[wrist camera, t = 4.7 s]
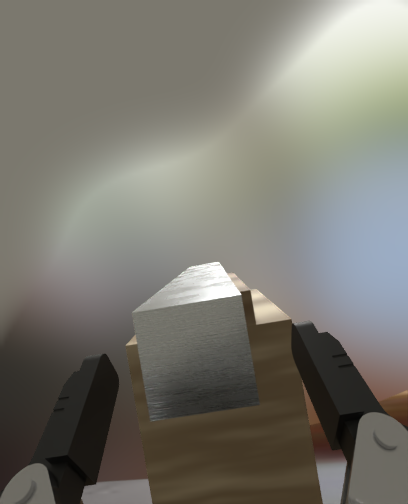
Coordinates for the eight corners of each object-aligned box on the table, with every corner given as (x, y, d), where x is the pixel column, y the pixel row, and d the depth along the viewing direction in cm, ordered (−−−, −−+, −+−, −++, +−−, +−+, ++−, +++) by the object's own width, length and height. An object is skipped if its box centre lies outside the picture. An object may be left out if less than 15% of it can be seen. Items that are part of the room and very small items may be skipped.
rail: (259, 404, 9) (241, 294, 9) (150, 421, 9) (131, 312, 9) (223, 290, 35) (218, 261, 35) (194, 295, 35) (190, 266, 35)
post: (404, 807, 16) (315, 283, 16) (176, 832, 17) (89, 320, 17) (305, 524, 33) (262, 266, 33) (193, 539, 34) (150, 285, 34)
